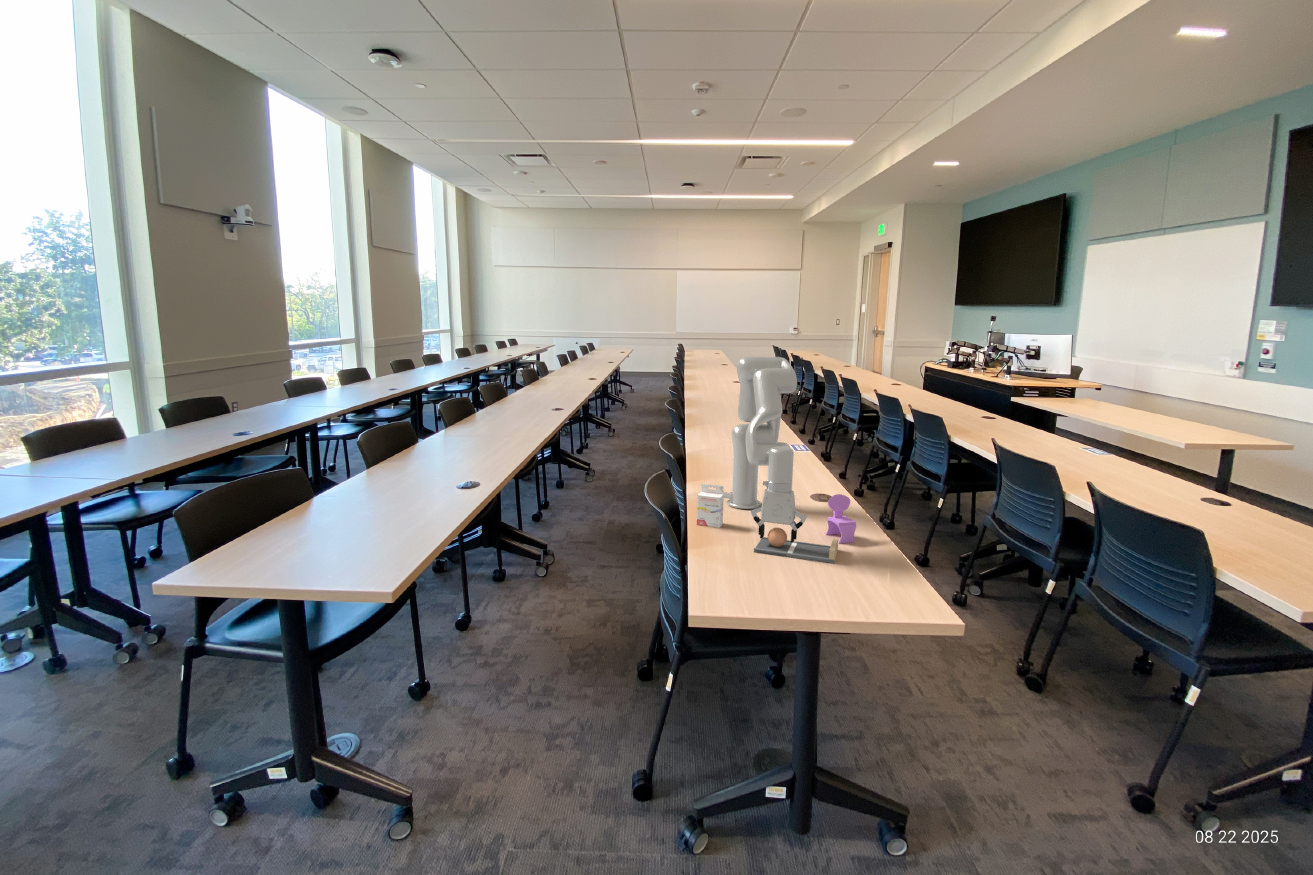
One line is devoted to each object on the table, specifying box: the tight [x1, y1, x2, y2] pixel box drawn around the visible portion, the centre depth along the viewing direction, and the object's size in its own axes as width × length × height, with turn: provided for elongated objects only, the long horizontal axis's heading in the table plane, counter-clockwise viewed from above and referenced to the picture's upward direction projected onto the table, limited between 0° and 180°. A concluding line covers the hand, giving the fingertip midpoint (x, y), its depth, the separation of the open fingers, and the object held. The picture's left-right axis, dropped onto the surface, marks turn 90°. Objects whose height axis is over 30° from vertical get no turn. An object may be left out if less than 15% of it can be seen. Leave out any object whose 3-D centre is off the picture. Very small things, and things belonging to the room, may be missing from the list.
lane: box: [753, 536, 839, 565], centre depth 187 cm, size 24×12×4 cm, turn 68°
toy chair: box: [825, 493, 857, 545], centre depth 196 cm, size 8×9×15 cm
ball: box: [767, 527, 788, 547], centre depth 188 cm, size 6×6×6 cm
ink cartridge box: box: [696, 483, 725, 529], centre depth 209 cm, size 9×5×15 cm, turn 71°
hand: (777, 539), depth 189 cm, fingers open, 9 cm apart
